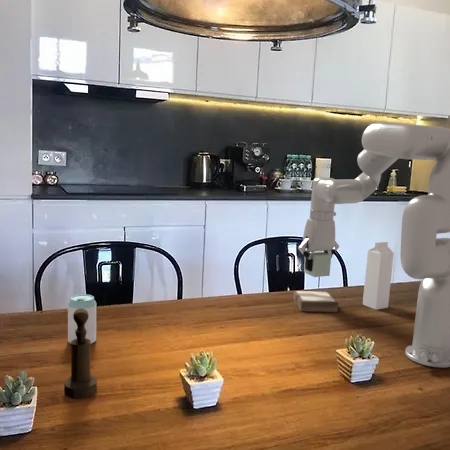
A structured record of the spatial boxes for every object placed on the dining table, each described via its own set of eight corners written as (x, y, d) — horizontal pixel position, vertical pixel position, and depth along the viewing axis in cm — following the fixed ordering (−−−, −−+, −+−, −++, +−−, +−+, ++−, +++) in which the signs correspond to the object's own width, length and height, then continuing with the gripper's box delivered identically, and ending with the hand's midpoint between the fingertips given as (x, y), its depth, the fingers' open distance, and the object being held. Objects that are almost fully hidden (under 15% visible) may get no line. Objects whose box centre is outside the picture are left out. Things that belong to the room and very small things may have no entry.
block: (329, 275, 174) (331, 255, 173) (314, 277, 171) (316, 255, 170) (318, 271, 179) (320, 250, 178) (303, 272, 177) (305, 251, 176)
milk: (362, 304, 180) (367, 241, 177) (374, 302, 184) (380, 239, 180) (376, 310, 175) (382, 244, 172) (388, 307, 179) (394, 243, 175)
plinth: (337, 311, 172) (338, 302, 171) (301, 311, 170) (301, 301, 170) (327, 300, 183) (327, 291, 183) (292, 299, 182) (293, 290, 182)
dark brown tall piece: (84, 381, 116) (85, 302, 113) (103, 391, 112) (104, 309, 109) (58, 391, 111) (57, 309, 108) (76, 402, 107) (76, 317, 104)
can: (99, 344, 136) (100, 299, 134) (72, 349, 133) (72, 303, 130) (91, 335, 142) (91, 292, 140) (64, 339, 138) (64, 295, 136)
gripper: (336, 213, 179) (331, 265, 182) (292, 214, 172) (288, 268, 175) (350, 217, 172) (345, 271, 175) (305, 218, 165) (301, 274, 168)
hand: (317, 269), depth 175 cm, fingers closed on block, 6 cm apart
